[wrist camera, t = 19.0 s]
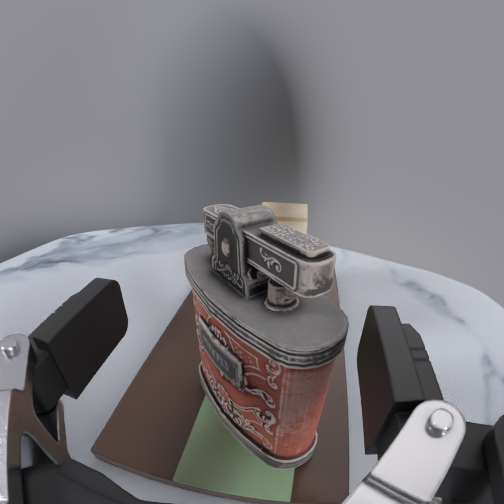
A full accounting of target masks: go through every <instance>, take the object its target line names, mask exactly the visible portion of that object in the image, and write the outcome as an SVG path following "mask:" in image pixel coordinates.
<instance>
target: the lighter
mask: <svg viewBox="0 0 504 504" xmlns="http://www.w3.org/2000/svg"><path fill="white" fill-rule="evenodd" d="M204 226H205V233H206V234H207V242H208V244H206V245H201V246H198V247H195V248H193V249H191V250H189V251H188V252H187V253H186V254H185V255H184V261H185V271H186V276H187V278H188V280H189V282H190V285H191V287H192V293H193V302H194V310H195V319H196V326H197V334H198V342H199V349H200V356H201V363H200V365H199V374H200V380H201V383H202V386H203V388H204V391H205V393H206V396H207V398H208V401H209V403H210V404H211V406H212V407H213V409H214V411H215V412H216V414H217V415H218V417H219V419H220V420H221V422H222V423H223V425H224V426H225V427H226V428H227V429H228V430H229V431H230V432H231V433H232V435H233V436H234V437H235V438H236V439H237V440H238V441H239V442H240V443H241V444H242V445H243V446H244V447H245V448H246V449H248V450H249V451H250V452H251V453H253V454H254V455H255V456H256V457H258V458H259V459H260V460H262V461H263V462H264V463H265V464H267V465H269V466H271V467H273V468H275V469H283V470H286V469H292V468H296V467H298V466H300V465H302V464H304V463H305V462H306V461H307V460H308V459H309V458H310V457H311V455H312V453H313V452H314V449H315V446H316V443H317V435H318V434H317V432H316V429H317V426H318V423H319V419H320V416H321V412H322V409H323V405H324V401H325V398H326V394H327V390H328V386H329V382H330V379H331V375H332V370H333V366H334V362H335V358H336V357H337V356H339V355H340V353H341V351H342V349H343V347H344V345H345V340H346V336H347V331H348V327H349V324H348V317H347V316H346V315H345V313H344V312H343V311H342V310H341V309H340V308H339V307H338V306H336V305H335V304H334V303H333V302H332V301H331V300H329V299H328V298H327V297H326V296H325V295H324V294H325V293H327V292H328V291H330V290H331V288H332V284H333V276H334V269H335V261H336V254H335V252H333V251H332V250H330V245H329V244H327V243H325V242H323V241H321V240H319V239H317V238H314V237H312V236H310V235H308V234H306V233H303V232H301V231H299V230H296V229H294V228H292V227H290V226H287V225H285V224H283V223H279V224H278V223H277V221H276V218H275V215H274V213H273V211H272V210H271V209H270V208H269V207H267V206H264V205H257V206H251V207H246V208H240V209H239V208H237V207H235V206H232V205H228V204H219V205H213V206H208V207H205V208H204Z"/></svg>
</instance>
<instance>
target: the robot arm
mask: <svg viewBox="0 0 504 504" xmlns="http://www.w3.org/2000/svg"><path fill="white" fill-rule="evenodd" d="M127 327H128V318H127V314H126V310H125V306H124V302H123V297H122V293H121V289H120V285H119V283H118V282H117V281H115V280H110V279H103V278H95V279H94V280H93V281H91V282H90V283H89V284H88V285H87V286H86V287H85V288H83V289H82V290H81V291H80V292H78V293H76V294H75V295H73V296H71V297H70V298H69V299H68V300H67V301H65V302H64V303H63V304H62V306H60V307H59V308H58V309H57V310H56V311H55V313H52V314H51V315H50V316H49V317H48V318H47V319H46V320H45V321H44V322H43V323H42V324H41V325H39V326H38V327H37V328H36V329H35V330H34V331H33V332H32V333H31V334H30V335H29V336H28V337H27V336H25V335H23V334H13V335H10V336H8V337H6V338H4V339H2V340H1V341H0V504H171V503H159V502H149V501H143V500H139V499H137V498H136V497H134V496H133V495H131V494H130V493H128V492H127V491H125V490H124V489H122V488H121V487H120V486H118V485H117V484H115V483H114V482H113V481H111V480H110V479H109V478H107V477H106V476H105V475H104V474H102V473H100V472H98V471H96V470H94V469H92V468H89V467H87V466H85V465H83V464H81V463H79V462H77V461H75V460H73V459H71V458H70V456H69V453H68V450H67V444H66V435H65V423H64V407H63V402H62V400H61V399H60V398H61V396H62V395H63V394H65V395H67V396H70V397H72V398H74V399H77V398H78V397H79V396H80V394H81V393H82V391H83V390H84V389H85V387H86V386H87V385H88V383H89V382H90V381H91V379H92V378H93V376H94V375H95V374H96V372H97V371H98V370H99V368H100V367H101V366H102V364H103V363H104V362H105V360H106V359H107V358H108V356H109V355H110V354H111V352H112V351H113V350H114V348H115V347H116V346H117V345H118V343H119V342H120V341H121V339H122V338H123V337H124V335H125V334H126V331H127ZM357 368H358V377H359V386H360V395H361V406H362V417H363V430H364V445H365V455H369V454H378V462H377V464H376V465H375V466H374V467H373V469H372V470H371V471H370V472H369V474H368V475H367V476H366V477H365V478H364V479H363V480H362V481H361V482H360V483H359V485H358V486H357V487H356V488H355V489H354V490H353V491H352V492H351V494H350V495H349V496H348V497H347V498H346V499H345V500H344V501H343V502H342V503H341V504H430V502H431V500H432V499H433V497H439V498H442V504H504V415H503V416H501V417H500V418H499V420H498V421H497V422H496V423H495V425H494V426H491V425H484V424H477V423H471V422H466V421H465V419H464V416H463V414H462V413H461V412H460V410H459V409H458V408H457V407H455V406H454V405H452V404H451V403H449V402H446V401H444V400H443V397H442V394H441V391H440V388H439V385H438V382H437V379H436V376H435V373H434V370H433V367H432V365H431V362H430V361H429V357H428V354H427V351H426V350H425V346H424V344H423V341H422V338H421V336H420V334H419V333H418V332H417V331H416V330H415V329H414V328H413V327H412V326H411V325H410V324H401V321H400V319H399V316H398V313H397V311H396V308H395V307H392V306H370V307H369V308H368V311H367V315H366V319H365V323H364V327H363V331H362V335H361V339H360V343H359V347H358V354H357ZM491 492H492V493H491ZM492 499H493V500H492Z"/></svg>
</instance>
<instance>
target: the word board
mask: <svg viewBox="0 0 504 504" xmlns="http://www.w3.org/2000/svg"><path fill="white" fill-rule="evenodd" d="M262 205H264V206H267V207H269V208H270V209H271V210H272V211H273V213H274V215H275V218H276V221H277V223H278V224H279V223H283V224H285V225H287V226H290V227H292V228H294V229H296V230H299V231H301V232H303V233H306V234H307V219H308V205H307V204H292V203H272V202H263V203H262ZM324 295H325V296H326V297H327V298H328V299H329V300H331V301H332V302H333V303H334V304H335V305H336V306H338V307H339V308H340V306H339V298H338V289H337V282H336V274H335V269H334V276H333V284H332V288H331V290H330V291H328V292H327V293H325V294H324ZM200 363H201V356H200V349H199V342H198V334H197V326H196V319H195V310H194V302H193V293H192V290H191V292H190V293H189V295H188V296H187V298H186V299H185V301H184V302H183V304H182V305H181V307H180V308H179V310H178V311H177V313H176V314H175V316H174V317H173V319H172V320H171V322H170V323H169V325H168V327H167V328H166V330H165V331H164V333H163V334H162V336H161V337H160V339H159V340H158V342H157V344H156V345H155V347H154V348H153V350H152V351H151V353H150V354H149V356H148V358H147V359H146V361H145V362H144V364H143V365H142V367H141V369H140V370H139V372H138V373H137V375H136V376H135V378H134V380H133V381H132V383H131V384H130V386H129V388H128V389H127V391H126V392H125V394H124V396H123V397H122V399H121V401H120V402H119V404H118V405H117V407H116V409H115V410H114V412H113V414H112V415H111V417H110V418H109V420H108V422H107V423H106V425H105V427H104V428H103V430H102V432H101V433H100V435H99V437H98V438H97V440H96V442H95V443H94V445H93V447H92V448H91V452H92V453H93V454H94V455H95V457H96V458H99V459H101V460H103V461H106V462H108V463H110V464H113V465H115V466H118V467H120V468H123V469H125V470H128V471H130V472H133V473H136V474H139V475H141V476H144V477H147V478H150V479H153V480H156V481H160V482H163V483H166V484H169V485H173V486H176V487H180V488H184V489H187V490H191V491H195V492H199V493H204V494H208V495H213V496H218V497H223V498H228V499H233V500H239V501H246V502H252V503H260V504H341V503H342V502H343V501H344V500H345V499H346V498H347V497H348V496H349V427H348V402H347V385H346V370H345V357H344V347H343V349H342V351H341V353H340V355H339V356H337V357H336V358H335V362H334V366H333V370H332V375H331V379H330V382H329V386H328V390H327V394H326V398H325V401H324V405H323V409H322V412H321V416H320V419H319V423H318V426H317V429H316V432H317V434H318V435H317V443H316V446H315V449H314V452H313V453H312V455H311V457H310V458H309V459H308V460H307V461H306V462H305V463H304V464H302V465H300V466H298V467H296V468H292V469H286V470H283V469H275V468H273V467H271V466H269V465H267V464H265V463H264V462H263V461H262V460H260V459H259V458H258V457H256V456H255V455H254V454H253V453H251V452H250V451H249V450H248V449H246V448H245V447H244V446H243V445H242V444H241V443H240V442H239V441H238V440H237V439H236V438H235V437H234V436H233V435H232V433H231V432H230V431H229V430H228V429H227V428H226V427H225V426H224V425H223V423H222V422H221V420H220V419H219V417H218V415H217V414H216V412H215V411H214V409H213V407H212V406H211V404H210V403H209V401H208V398H207V396H206V393H205V391H204V388H203V386H202V383H201V380H200V374H199V365H200Z"/></svg>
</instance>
